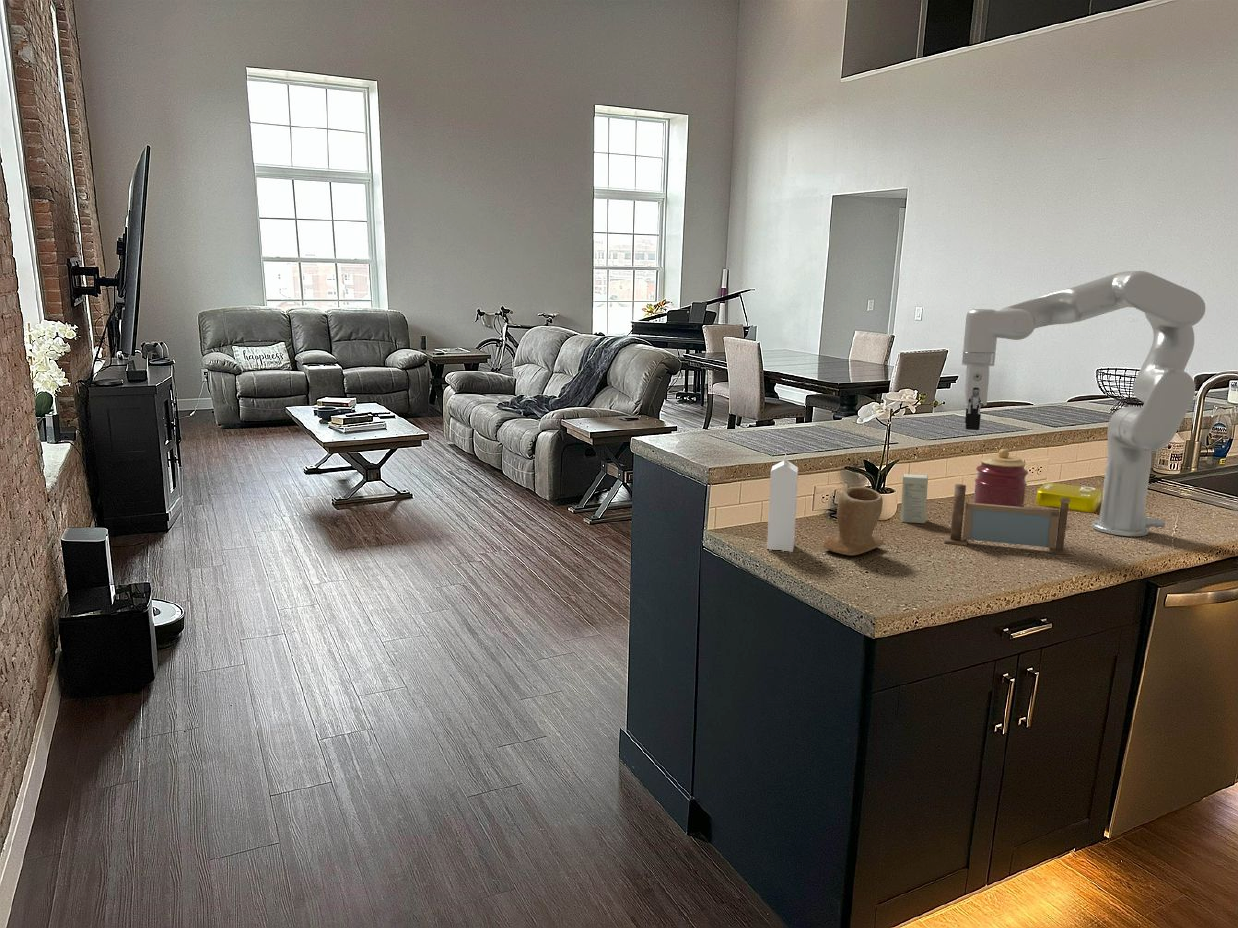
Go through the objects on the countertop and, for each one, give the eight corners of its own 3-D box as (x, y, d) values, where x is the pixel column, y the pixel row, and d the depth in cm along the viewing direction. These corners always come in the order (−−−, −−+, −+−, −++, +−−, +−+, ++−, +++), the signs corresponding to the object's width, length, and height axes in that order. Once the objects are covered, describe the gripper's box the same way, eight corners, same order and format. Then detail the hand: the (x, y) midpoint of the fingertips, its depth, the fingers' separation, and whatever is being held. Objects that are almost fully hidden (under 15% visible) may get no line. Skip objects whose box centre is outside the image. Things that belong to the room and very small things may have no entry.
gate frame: (944, 543, 203) (949, 486, 201) (943, 537, 208) (949, 482, 205) (1070, 555, 195) (1077, 496, 192) (1066, 549, 199) (1073, 492, 196)
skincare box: (925, 519, 224) (929, 474, 221) (925, 524, 220) (929, 478, 217) (899, 517, 226) (903, 472, 223) (899, 521, 222) (903, 476, 219)
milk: (766, 550, 197) (770, 457, 192) (768, 542, 203) (772, 452, 198) (793, 552, 195) (797, 459, 191) (794, 544, 201) (798, 453, 197)
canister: (972, 515, 229) (978, 451, 225) (971, 504, 241) (977, 443, 237) (1025, 520, 224) (1032, 455, 221) (1022, 509, 236) (1029, 446, 232)
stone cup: (858, 563, 188) (863, 498, 185) (815, 550, 197) (819, 488, 194) (897, 550, 198) (902, 488, 194) (854, 539, 206) (858, 479, 203)
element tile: (1043, 495, 253) (1045, 480, 252) (1100, 503, 244) (1103, 487, 243) (1033, 505, 241) (1035, 489, 240) (1093, 514, 233) (1095, 497, 232)
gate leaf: (962, 539, 204) (966, 503, 202) (962, 537, 205) (966, 502, 203) (1055, 548, 197) (1059, 511, 195) (1054, 546, 199) (1058, 510, 197)
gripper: (996, 362, 203) (989, 433, 206) (993, 357, 218) (986, 422, 222) (962, 361, 205) (956, 431, 209) (962, 356, 221) (956, 421, 225)
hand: (971, 426), depth 215 cm, fingers open, 9 cm apart
